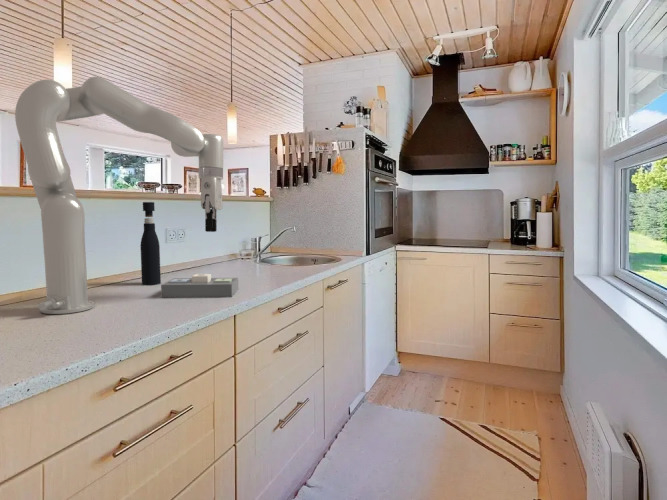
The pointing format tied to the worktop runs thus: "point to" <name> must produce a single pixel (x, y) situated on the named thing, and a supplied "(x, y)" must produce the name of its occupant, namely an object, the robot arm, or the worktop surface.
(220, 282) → the key sage
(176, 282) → the key blue
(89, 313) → the worktop surface
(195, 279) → the key cream
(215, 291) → the key panel
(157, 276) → the wine bottle
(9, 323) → the worktop surface
